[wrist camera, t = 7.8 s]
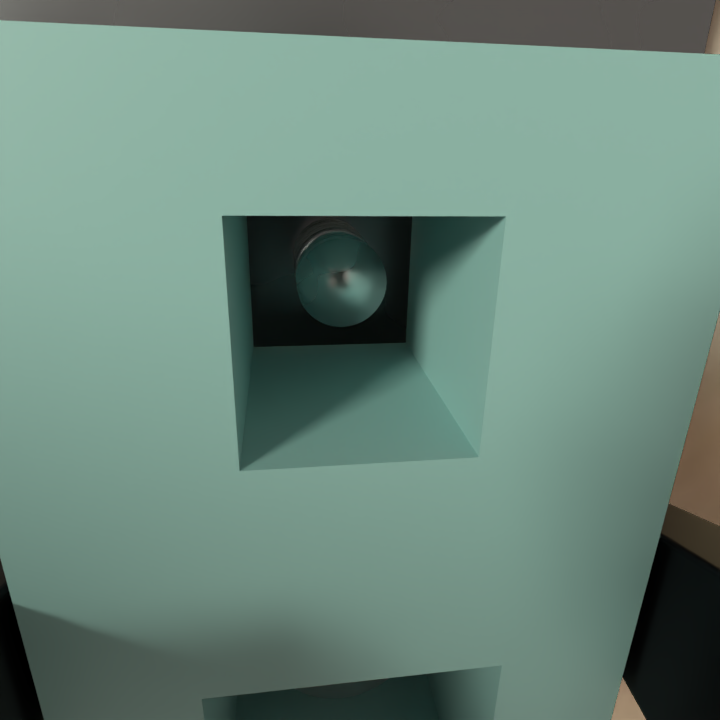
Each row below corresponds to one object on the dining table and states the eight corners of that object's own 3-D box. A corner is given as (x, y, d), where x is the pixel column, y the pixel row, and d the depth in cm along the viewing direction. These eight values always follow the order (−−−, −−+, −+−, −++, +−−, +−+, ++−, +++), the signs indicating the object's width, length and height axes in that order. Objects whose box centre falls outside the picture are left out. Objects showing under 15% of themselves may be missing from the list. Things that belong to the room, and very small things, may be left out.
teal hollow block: (489, 694, 12) (565, 892, 9) (158, 733, 11) (112, 970, 8) (577, 92, 8) (787, 56, 5) (51, 73, 7) (-149, 12, 4)
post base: (87, 701, 14) (18, 902, 10) (-128, -250, 7) (-532, -636, 4) (538, 653, 16) (618, 812, 12) (688, -164, 9) (972, -376, 5)
